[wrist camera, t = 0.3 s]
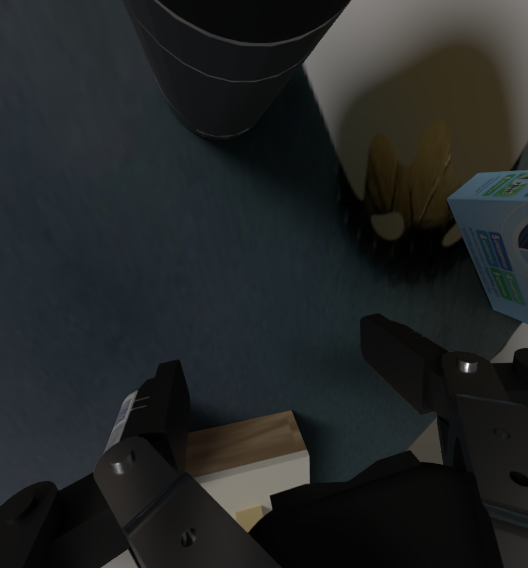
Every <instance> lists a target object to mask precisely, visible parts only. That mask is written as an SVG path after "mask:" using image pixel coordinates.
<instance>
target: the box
mask: <svg viewBox="0 0 528 568" xmlns="http://www.w3.org/2000/svg"><path fill="white" fill-rule="evenodd" d="M303 450H307V449H306V446H305V443H304V441H303V438H302V436H301V433H300V431H299V428H298V426H297V423H296V421H295V418H294V416H293V413H292V411H291V410H290V411H285V412H281V413H276V414H271V415H267V416H262V417H258V418H253V419H249V420H244V421H240V422H235V423H231V424H226V425H222V426H217V427H213V428H208V429H203V430H199V431H194V432H190V433H188V439H187V451H186V462H185V472H187V473H189V474H190V475H191V476H192V477H193V478H195V477H199V476H203V475H207V474H211V473H215V472H219V471H223V470H227V469H231V468H235V467H239V466H243V465H247V464H251V463H255V462H259V461H263V460H267V459H271V458H275V457H279V456H283V455H287V454H291V453H295V452H299V451H303Z"/></svg>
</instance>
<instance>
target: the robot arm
mask: <svg viewBox="0 0 528 568" xmlns="http://www.w3.org/2000/svg"><path fill="white" fill-rule="evenodd" d="M350 1H351V0H122V2H123V4H124V7H125V9H126V11H127V14H128V16H129V18H130V20H131V23H132V25H133V27H134V30H135V32H136V34H137V37H138V39H139V41H140V44H141V46H142V48H143V50H144V53H145V55H146V57H147V60H148V62H149V64H150V67H151V69H152V71H153V74H154V76H155V78H156V81H157V83H158V86H159V88H160V90H161V92H162V95H163V97H164V99H165V101H166V103H167V105H168V106H169V108H170V110H171V112H172V113H173V114H174V115H175V117H176V118H177V119H178V120H179V122H180V123H182V124H183V125H184V126H185V127H186V128H187V129H189V130H190V131H192V132H193V133H195V134H197V135H199V136H201V137H204V138H207V139H210V140H219V141H224V140H230V139H234V138H237V137H239V136H241V135H243V134H245V133H246V132H247V131H249V130H250V129H251V128H252V127H253V126H254V125H255V124H256V122H257V121H258V120H259V119H260V118H261V116H262V115H263V114H264V113H265V111H266V110H267V109H268V108H269V106H270V105H271V104H272V102H273V101H274V100H275V99H276V97H277V96H278V95H279V93H280V92H281V91H282V90H283V88H284V87H285V86H286V84H287V83H288V82H289V81H290V79H291V78H292V77H293V75H294V74H295V73H296V72H297V70H298V69H299V68H300V66H301V65H302V64H303V63H304V61H305V60H306V59H307V57H308V56H309V55H310V54H311V52H312V51H313V50H314V48H315V47H316V45H317V44H318V42H319V41H320V40H321V39H322V37H323V36H324V35H325V34H326V32H327V31H328V30H329V28H330V27H331V26H332V25H333V23H334V22H335V21H336V19H337V18H338V17H339V16H340V14H341V13H342V12H343V10H344V9H345V7H347V5H348V4H349V3H350ZM360 332H361V350H362V354H363V356H364V358H365V360H366V361H367V362H368V363H369V364H370V365H371V366H372V367H373V368H374V369H375V370H376V371H377V372H378V373H379V374H380V375H381V376H382V377H383V378H384V379H385V380H386V381H387V382H388V383H389V384H390V385H391V386H392V387H393V388H394V389H395V390H396V391H397V392H398V393H399V394H400V395H401V396H402V397H404V398H405V399H406V400H407V401H408V402H409V403H410V404H411V405H412V406H413V407H414V408H415V409H416V410H417V411H418V412H419V413H420V414H421V415H422V414H426V413H429V412H432V411H435V412H436V413H437V425H438V431H439V439H440V445H441V453H442V459H443V465H441V464H435V463H426V462H420V461H419V460H418V459H417V458H416V457H415V455H414V454H413V453H412V452H411V451H410V450H409V451H406V452H402V453H399V454H396V455H393V456H390V457H387V458H384V459H381V460H378V461H376V462H375V463H374V464H372V465H371V466H369V467H368V468H367V469H365V470H364V471H362V472H361V473H360V474H358V475H357V476H355V477H354V478H353V479H351V480H349V481H347V482H333V483H309V484H304V485H300V486H297V487H294V488H291V489H288V490H285V491H282V492H279V493H276V494H273V495H270V500H271V505H272V510H271V511H270V512H268V513H267V514H266V515H265V516H263V517H262V518H261V519H260V520H259V521H258V522H257V523H256V524H255V525H254V526H253V527H252V528H251V530H250V531H249V532H248V533H247V532H246V531H245V530H244V529H243V528H242V527H241V526H240V525H239V524H238V523H237V522H236V521H235V520H234V518H233V517H232V516H231V515H230V514H229V513H228V512H227V511H226V510H225V509H224V508H223V507H222V506H221V505H220V504H219V503H218V502H217V501H216V500H215V499H214V498H213V497H212V496H211V495H210V494H209V493H208V492H207V491H206V490H205V489H204V488H203V487H202V486H201V485H200V484H199V483H198V482H197V481H196V480H195V479H194V478H193V477H192V476H191V475H190V474H189V473H187V472H185V462H186V451H187V439H188V427H189V415H190V396H189V391H188V387H187V384H186V380H185V377H184V373H183V370H182V366H181V363H180V361H179V360H174V361H170V362H165V363H161V364H159V366H158V369H157V373H156V376H155V378H152V379H148V380H146V382H145V383H144V384H143V385H142V386H141V387H140V388H139V390H138V392H137V395H136V397H135V402H134V403H133V405H132V408H131V411H130V413H129V416H128V419H127V421H126V424H125V427H124V430H123V432H122V435H121V438H120V440H119V442H118V443H116V444H115V445H113V446H112V447H110V448H109V449H108V450H107V451H106V452H105V453H104V454H103V455H102V456H101V457H100V459H99V460H98V462H97V463H96V465H95V468H94V472H93V473H91V474H89V475H88V476H86V477H84V478H82V479H80V480H78V481H77V482H75V483H73V484H71V485H69V486H67V487H65V488H63V489H62V490H60V491H58V489H57V487H56V485H55V484H54V483H53V482H50V481H43V482H38V483H35V484H33V485H30V486H28V487H26V488H24V489H23V490H21V491H19V492H18V493H16V494H15V495H13V496H12V497H11V498H9V499H8V500H7V501H6V502H5V503H4V504H2V505H1V506H0V568H101V567H102V566H104V565H105V564H107V563H108V562H109V561H111V560H112V559H114V558H116V557H117V556H118V555H120V554H121V553H123V552H124V551H126V550H127V549H128V551H129V553H130V554H131V556H132V558H133V560H134V562H135V564H136V565H137V567H138V568H528V348H522V349H519V350H517V351H515V353H514V358H513V363H491V362H490V361H489V360H487V359H486V358H484V357H482V356H480V355H477V354H474V353H471V352H466V351H450V352H449V351H447V350H445V349H444V348H442V347H440V346H439V345H437V344H435V343H434V342H432V341H430V340H429V339H427V338H426V337H422V335H421V334H419V333H417V332H415V331H414V330H412V329H411V328H409V327H407V326H406V325H403V324H400V323H397V322H394V321H391V320H389V319H387V318H386V317H384V316H383V315H381V314H379V313H377V314H373V315H369V316H364V317H362V318H361V320H360Z"/></svg>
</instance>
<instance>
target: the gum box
mask: <svg viewBox="0 0 528 568" xmlns="http://www.w3.org/2000/svg"><path fill="white" fill-rule="evenodd" d="M447 202H448V204H449V206H450V209H451V211H452V214H453V216H454V218H455V221H456V223H457V225H458V228H459V230H460V232H461V235H462V237H463V240H464V242H465V244H466V247H467V249H468V252H469V254H470V256H471V259H472V261H473V263H474V266H475V268H476V270H477V273H478V275H479V278H480V280H481V282H482V285H483V287H484V289H485V292H486V294H487V296H488V299H489V301H490V303H491V306H492V309H493V310H495V311H497V312H500V313H502V314H505V315H507V316H510V317H512V318H515V319H517V320H519V321H522V322H524V323H527V324H528V170H523V171H505V172H487V173H477V174H476V175H475V176H474V177H473V178H471V179H470V180H469V181H468V182H466V183H465V184H464V185H463V186H461V187H460V188H459V189H457V190H456V191H455V192H454V193H452V194H451V195H450V196H449V197H448V198H447Z"/></svg>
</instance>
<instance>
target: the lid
mask: <svg viewBox="0 0 528 568" xmlns="http://www.w3.org/2000/svg"><path fill="white" fill-rule="evenodd" d="M194 479H195V480H196V481H197V482H198V483H199V484H200V485H201V486H202V487H203V488H204V489H205V490H206V491H207V492H208V493H209V494H210V495H211V496H212V497H213V498H214V499H215V500H216V501H217V502H218V503H219V504H220V505H221V506H222V507H223V508H224V509H225V510H226V511H227V512H228V513H229V514H230V515H231V516H232V517H233V518H234V520H235V521H236V522H237V523H238V524H239V525H240V526H241V527H242V528H243V529H244V530H245V531H246V532H247V533H248V532H249V531H250V530H251V528H252V527H253V526H254V525H255V524H256V523H257V522H258V521H259V520H260V519H261V518H262V517H263V516H265V515H266V514H267V513H268V512H270V511H271V510H272V505H271V500H270V495H273V494H276V493H279V492H282V491H285V490H288V489H291V488H294V487H297V486H300V485H304V484H309V483H310V463H309V454H308V451H307V450H303V451H299V452H295V453H291V454H287V455H283V456H279V457H275V458H271V459H267V460H263V461H259V462H255V463H251V464H247V465H243V466H239V467H235V468H231V469H227V470H223V471H219V472H215V473H211V474H207V475H203V476H199V477H195V478H194Z"/></svg>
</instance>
